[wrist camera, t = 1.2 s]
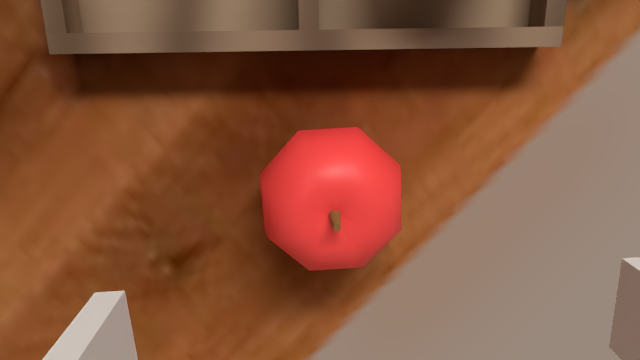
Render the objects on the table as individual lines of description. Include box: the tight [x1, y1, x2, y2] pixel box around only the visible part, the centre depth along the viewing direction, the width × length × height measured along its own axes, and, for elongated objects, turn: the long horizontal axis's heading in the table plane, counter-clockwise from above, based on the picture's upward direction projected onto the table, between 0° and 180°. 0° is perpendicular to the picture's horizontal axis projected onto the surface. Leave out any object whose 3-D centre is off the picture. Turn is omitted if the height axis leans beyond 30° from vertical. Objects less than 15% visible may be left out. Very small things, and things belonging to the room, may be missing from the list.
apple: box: [259, 127, 401, 271], centre depth 26 cm, size 8×8×8 cm
